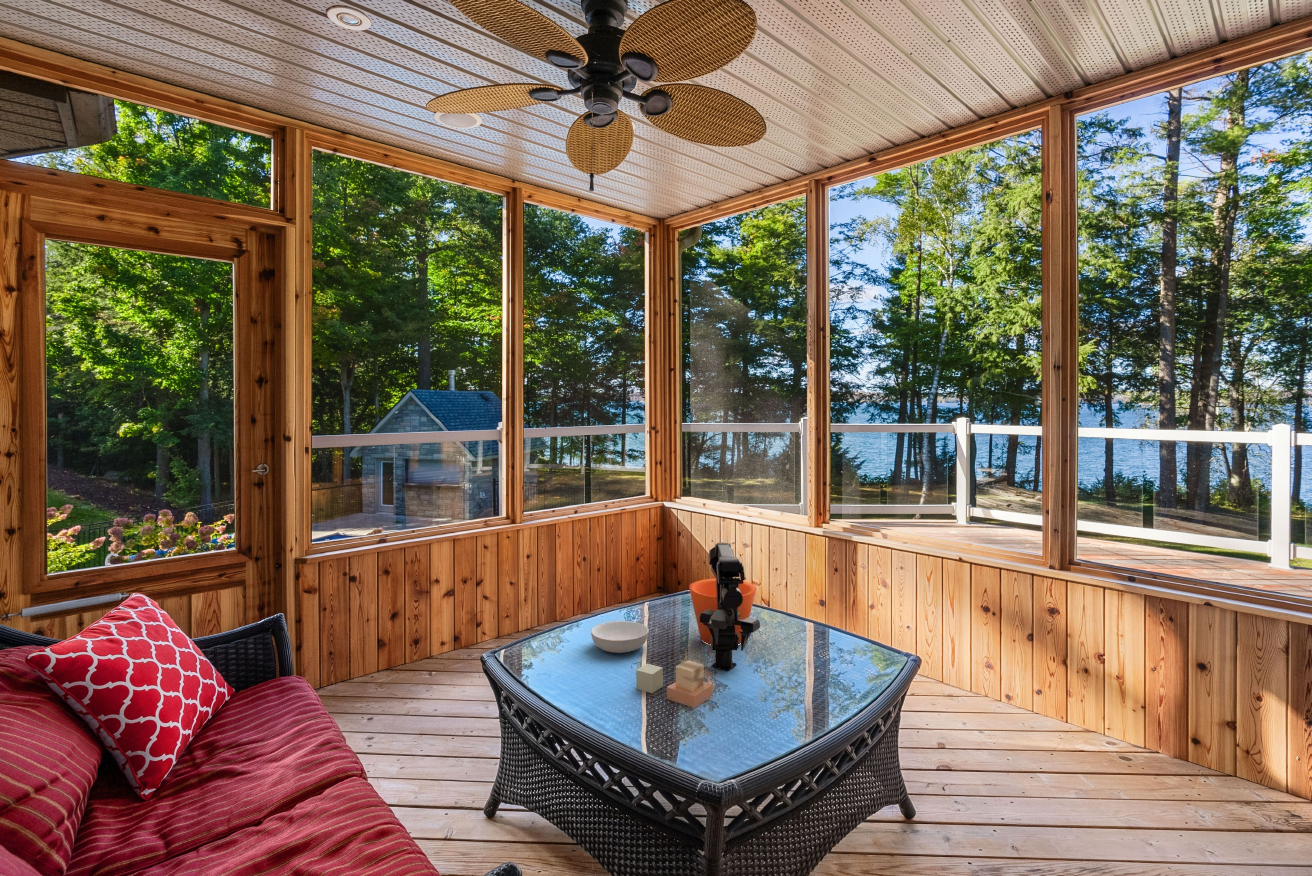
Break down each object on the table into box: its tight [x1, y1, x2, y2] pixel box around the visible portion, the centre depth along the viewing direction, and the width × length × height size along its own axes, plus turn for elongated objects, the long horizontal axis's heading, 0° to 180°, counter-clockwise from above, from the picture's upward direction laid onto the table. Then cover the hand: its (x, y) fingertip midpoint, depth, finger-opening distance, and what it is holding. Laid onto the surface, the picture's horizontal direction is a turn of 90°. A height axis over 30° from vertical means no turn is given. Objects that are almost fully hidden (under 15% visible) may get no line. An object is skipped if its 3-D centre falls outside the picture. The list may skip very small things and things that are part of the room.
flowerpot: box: [688, 578, 757, 645], centre depth 243 cm, size 25×25×20 cm
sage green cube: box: [635, 663, 664, 694], centre depth 202 cm, size 6×6×6 cm
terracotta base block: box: [666, 681, 714, 709], centre depth 196 cm, size 10×10×4 cm
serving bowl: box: [590, 620, 650, 654], centre depth 235 cm, size 21×21×7 cm
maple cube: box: [675, 659, 705, 691], centre depth 196 cm, size 6×6×6 cm
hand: (729, 647), depth 203 cm, fingers open, 9 cm apart
